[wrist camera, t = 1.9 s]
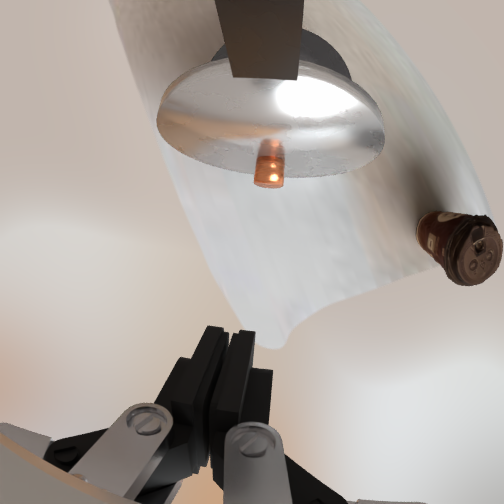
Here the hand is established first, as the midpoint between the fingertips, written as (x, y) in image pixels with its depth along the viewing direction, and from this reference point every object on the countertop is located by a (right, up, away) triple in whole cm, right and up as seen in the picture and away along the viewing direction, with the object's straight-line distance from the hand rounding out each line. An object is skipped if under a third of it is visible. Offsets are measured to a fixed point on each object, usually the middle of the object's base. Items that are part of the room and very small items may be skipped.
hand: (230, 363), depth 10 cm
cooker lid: (+2, +13, +7) cm, 15 cm away
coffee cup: (+27, +7, +28) cm, 39 cm away
